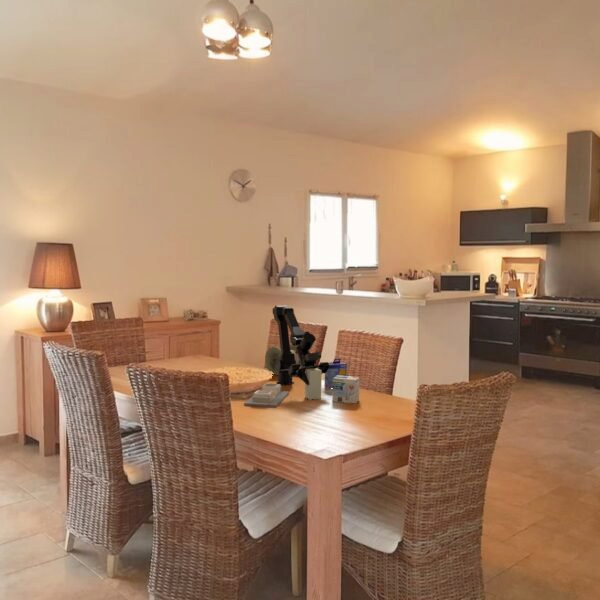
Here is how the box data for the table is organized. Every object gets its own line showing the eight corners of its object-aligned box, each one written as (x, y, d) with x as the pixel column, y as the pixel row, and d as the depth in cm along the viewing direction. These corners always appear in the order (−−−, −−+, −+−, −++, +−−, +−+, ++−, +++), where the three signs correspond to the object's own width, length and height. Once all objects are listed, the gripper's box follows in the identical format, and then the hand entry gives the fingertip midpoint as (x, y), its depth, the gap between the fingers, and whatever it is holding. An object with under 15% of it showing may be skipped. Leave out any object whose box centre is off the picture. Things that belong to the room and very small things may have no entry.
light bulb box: (331, 401, 279) (332, 377, 278) (336, 398, 285) (337, 374, 284) (355, 404, 275) (355, 379, 274) (359, 400, 281) (360, 376, 280)
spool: (283, 377, 331) (284, 348, 329) (265, 372, 341) (265, 345, 340) (306, 373, 342) (306, 345, 341) (287, 369, 353) (287, 342, 352)
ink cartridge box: (328, 389, 302) (329, 359, 301) (323, 387, 307) (324, 358, 306) (347, 388, 306) (347, 358, 305) (341, 385, 311) (342, 356, 310)
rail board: (259, 392, 295) (259, 381, 295) (289, 393, 293) (289, 382, 292) (244, 405, 270) (244, 393, 269) (276, 407, 267) (276, 395, 267)
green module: (305, 397, 286) (305, 369, 285) (316, 396, 288) (316, 368, 287) (309, 399, 281) (310, 371, 280) (320, 398, 283) (321, 370, 282)
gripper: (291, 346, 283) (300, 375, 273) (328, 344, 290) (339, 372, 281) (284, 361, 290) (293, 389, 281) (320, 358, 298) (330, 386, 289)
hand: (314, 384), depth 283 cm, fingers closed on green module, 6 cm apart
